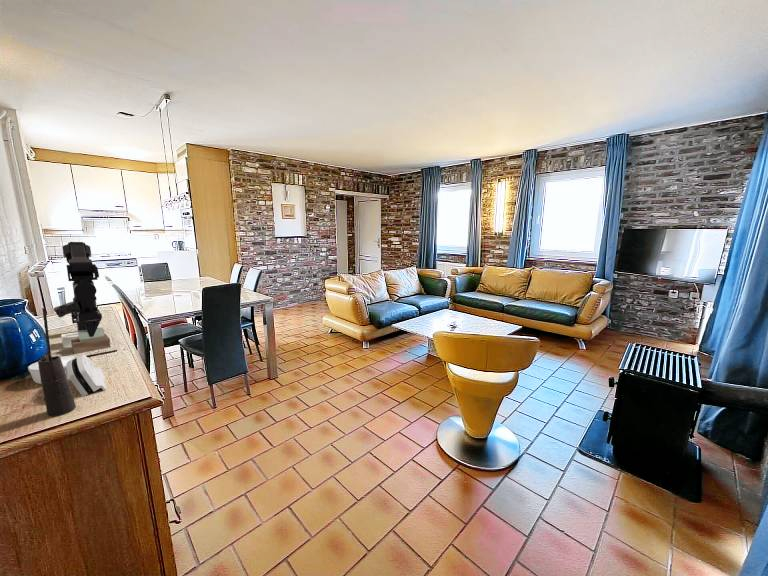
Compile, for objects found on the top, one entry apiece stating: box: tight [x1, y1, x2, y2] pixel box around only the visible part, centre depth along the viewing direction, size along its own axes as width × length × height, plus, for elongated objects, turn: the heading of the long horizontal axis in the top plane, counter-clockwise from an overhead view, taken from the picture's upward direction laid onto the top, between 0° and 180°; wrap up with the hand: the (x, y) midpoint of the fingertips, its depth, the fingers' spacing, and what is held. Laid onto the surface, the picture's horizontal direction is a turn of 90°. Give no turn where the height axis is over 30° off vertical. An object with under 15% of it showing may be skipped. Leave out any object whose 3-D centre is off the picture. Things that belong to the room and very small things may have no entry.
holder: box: [60, 331, 79, 348], centre depth 124 cm, size 7×9×5 cm
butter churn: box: [37, 307, 77, 417], centre depth 78 cm, size 9×10×28 cm
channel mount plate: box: [71, 333, 118, 359], centre depth 119 cm, size 14×13×5 cm
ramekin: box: [27, 355, 78, 385], centre depth 97 cm, size 11×11×5 cm
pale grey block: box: [77, 327, 106, 342], centre depth 119 cm, size 4×7×7 cm, turn 140°
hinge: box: [66, 354, 107, 397], centre depth 93 cm, size 17×5×10 cm, turn 44°
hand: (89, 334), depth 118 cm, fingers open, 9 cm apart
